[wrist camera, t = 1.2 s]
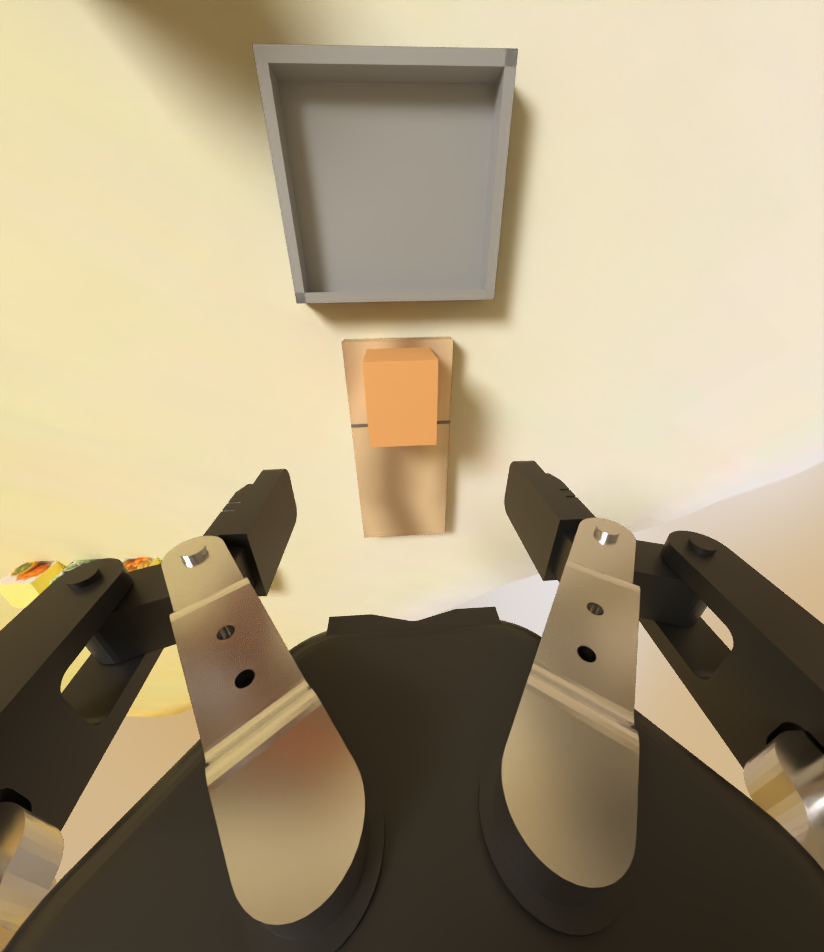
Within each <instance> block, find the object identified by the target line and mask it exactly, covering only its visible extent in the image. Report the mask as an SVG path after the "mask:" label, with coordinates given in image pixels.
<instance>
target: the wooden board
mask: <svg viewBox="0 0 824 952" xmlns="http://www.w3.org/2000/svg"><path fill="white" fill-rule="evenodd" d="M420 347H429V348H430V349H431V351H432V352H433V353H434V355H435V356H436V357H437V359H438V398H437V440H436V445H417V446H394V447H370V443H369V432H368V421H367V410H366V398H365V387H364V376H363V365H362V362H363V359H364V356H365V353H366V350H367V349H384V348H420ZM342 350H343V358H344V367H345V375H346V384H347V393H348V401H349V410H350V418H351V428H352V436H353V444H354V453H355V461H356V470H357V479H358V487H359V496H360V504H361V513H362V522H363V530H364V538H365V537H383V536H400V535H418V534H436V533H445V514H446V491H447V468H448V445H449V424H450V400H451V377H452V354H453V339H452V338H451V337H418V338H379V339H344V340H343V341H342Z"/></svg>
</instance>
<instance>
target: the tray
mask: <svg viewBox="0 0 824 952" xmlns="http://www.w3.org/2000/svg"><path fill="white" fill-rule="evenodd" d="M252 45H253V51H254V57H255V63H256V69H257V75H258V80H259V86H260V92H261V98H262V104H263V110H264V115H265V121H266V127H267V133H268V139H269V145H270V150H271V156H272V162H273V168H274V174H275V180H276V185H277V191H278V197H279V203H280V209H281V215H282V220H283V226H284V232H285V238H286V244H287V250H288V255H289V261H290V267H291V273H292V279H293V285H294V290H295V296H296V302H297V303H340V302H389V301H439V300H488V299H494V292H495V282H496V271H497V261H498V251H499V240H500V230H501V220H502V209H503V199H504V188H505V178H506V168H507V157H508V147H509V137H510V126H511V116H512V106H513V95H514V85H515V75H516V64H517V54H518V49H510V48H456V47H401V46H346V45H291V44H252Z"/></svg>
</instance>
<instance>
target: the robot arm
mask: <svg viewBox="0 0 824 952" xmlns="http://www.w3.org/2000/svg"><path fill="white" fill-rule="evenodd" d="M504 503H505V510H506V513H507V516H508V517H509V519H510V521H511V523H512V525H513V526H514V528H515V530H516V532H517V534H518V536H519V537H520V539H521V541H522V543H523V545H524V547H525V548H526V550H527V552H528V554H529V556H530V558H531V559H532V561H533V563H534V565H535V567H536V569H537V570H538V572H539V574H540V576H541V577H542V580H543V581H548V580H558V581H559V586H558V589H557V593H556V596H555V599H554V602H553V605H552V608H551V611H550V614H549V617H548V620H547V623H546V626H545V629H544V632H543V635H542V637H540V636H539V635H537V634H536V633H534V632H532V631H530V630H528V629H526V628H524V627H521V626H519V625H516V624H513V623H509V622H506V621H501V620H499V617H498V614H497V611H496V608H495V607H484V608H467V609H455V610H451V611H448V612H445V613H441V614H438V615H435V616H432V617H428V618H425V619H422V620H419V621H407V620H401V619H395V618H389V617H383V616H377V615H355V616H339V617H329V623H328V629H327V631H326V632H323V633H320V634H318V635H315V636H313V637H311V638H309V639H307V640H305V641H303V642H301V643H300V644H298V645H297V646H295V647H294V648H292V649H291V650H290V651H289V650H288V649H287V647H286V645H285V643H284V642H283V640H282V638H281V636H280V634H279V633H278V631H277V629H276V627H275V626H274V624H273V622H272V620H271V619H270V617H269V615H268V613H267V611H266V610H265V608H264V606H263V604H262V603H261V601H260V599H259V597H258V596H267V594H268V591H269V589H270V586H271V584H272V581H273V579H274V576H275V574H276V571H277V568H278V566H279V563H280V561H281V558H282V556H283V553H284V551H285V548H286V546H287V543H288V541H289V538H290V536H291V533H292V530H293V528H294V525H295V523H296V517H297V509H296V503H295V499H294V494H293V490H292V485H291V480H290V476H289V473H288V471H287V470H286V469H273V470H263V471H262V472H261V473H260V475H259V476H258V478H257V479H256V481H255V482H254V483H253V484H248V485H246V486H245V487H243V488H242V489H240V490H239V491H237V492H236V493H235V494H234V495H233V497H232V498H231V499H230V501H229V504H227V505H226V506H225V507H224V509H223V512H221V513H220V514H219V515H218V517H217V518H216V519H215V521H214V522H213V523H212V525H211V526H210V527H209V529H208V530H207V531H206V533H205V534H204V535H203V536H201V537H196V538H193V539H190V540H187V541H185V542H183V543H181V544H179V545H177V546H176V547H174V548H173V549H171V550H170V551H169V552H168V553H167V554H166V555H165V557H164V558H163V560H162V563H161V564H157V565H153V566H149V567H145V568H141V569H137V570H133V571H130V572H128V571H127V569H126V568H125V566H124V564H123V563H122V562H121V561H120V560H118V559H113V558H106V559H99V560H95V561H91V562H88V563H85V564H83V565H80V566H78V567H76V568H74V569H72V570H70V571H68V572H66V573H65V574H63V575H62V576H60V577H59V578H57V579H56V580H55V581H54V582H52V583H51V584H50V585H49V586H48V587H47V588H46V589H45V590H44V591H43V592H42V593H41V594H40V595H38V596H37V597H36V598H35V599H34V600H33V601H32V602H31V603H30V604H29V605H28V606H27V607H26V608H25V609H23V610H22V611H21V612H20V613H19V614H18V615H17V616H16V617H15V618H14V619H13V620H12V621H11V622H9V623H8V624H7V625H6V626H5V627H4V628H3V629H2V630H1V631H0V952H824V624H822V623H821V622H820V621H819V620H817V619H816V618H815V617H813V616H812V615H811V614H810V613H809V612H807V611H806V610H805V609H804V608H802V607H801V606H800V605H799V604H797V603H796V602H795V601H794V600H792V599H791V598H790V597H788V596H787V595H786V594H785V593H784V592H782V591H781V590H780V589H779V588H777V587H776V586H775V585H774V584H772V583H771V582H770V581H769V580H767V579H766V578H765V577H763V576H762V575H761V574H760V573H759V572H757V571H756V570H755V569H754V568H752V567H751V566H750V565H749V564H747V563H746V562H745V561H744V560H742V559H741V558H740V557H738V556H737V555H736V554H735V553H734V552H732V551H731V550H730V549H729V548H727V547H726V546H724V545H723V544H721V543H720V542H718V541H716V540H714V539H712V538H710V537H707V536H705V535H702V534H698V533H695V532H690V531H675V532H672V533H671V534H669V536H668V538H667V540H666V542H665V544H664V545H663V544H657V543H650V542H645V541H638V540H636V539H635V537H634V535H633V534H632V533H631V532H630V531H629V530H628V529H627V528H625V527H624V526H622V525H620V524H618V523H616V522H614V521H611V520H607V519H602V518H596V517H595V516H594V515H593V514H592V513H591V512H590V511H589V510H588V509H587V508H586V507H585V505H584V504H583V503H582V502H581V501H580V500H579V499H578V498H577V497H575V495H574V494H573V493H572V492H571V490H569V488H568V487H567V486H566V485H565V484H564V483H563V482H562V481H561V480H560V479H558V478H556V477H554V476H552V475H551V474H549V473H545V472H544V471H543V470H542V469H541V468H540V467H539V466H538V464H537V463H536V462H535V461H513V462H512V463H511V465H510V468H509V474H508V480H507V487H506V493H505V500H504ZM707 606H708V607H709V608H710V609H711V610H712V611H713V612H714V613H715V614H716V615H717V617H718V618H719V619H720V620H721V621H722V622H723V623H724V624H725V625H726V626H727V627H728V629H729V630H730V632H731V634H732V637H733V642H734V646H733V649H732V651H731V650H729V648H728V647H727V646H726V645H725V644H724V643H723V641H722V640H721V639H720V638H719V637H718V636H717V635H716V634H715V633H714V631H712V629H711V628H710V627H709V626H708V625H707V624H706V623H705V621H704V620H703V619H702V618H701V617H700V616H701V615H702V613H703V612H704V610H705V609H706V607H707ZM639 621H640V622H641V624H642V625H643V627H644V628H645V630H646V631H647V632H648V634H649V635H650V637H651V638H652V639H653V641H654V642H655V644H656V645H657V647H658V648H659V649H660V651H661V652H662V654H663V655H664V657H665V658H666V659H667V661H668V662H669V664H670V665H671V666H672V668H673V669H674V670H675V672H676V674H677V675H678V676H679V678H680V679H681V681H682V682H683V684H684V685H685V686H686V688H687V689H688V691H689V692H690V693H691V695H692V696H693V698H694V699H695V701H696V702H697V703H698V705H699V706H700V708H701V709H702V711H703V712H704V713H705V715H706V716H707V718H708V719H709V720H710V722H711V723H712V725H713V726H714V728H715V729H716V730H717V731H718V733H719V735H720V736H721V738H722V739H723V740H724V742H725V743H726V745H727V746H728V747H729V749H730V750H731V752H732V753H733V755H734V756H735V757H736V759H737V760H738V762H739V763H740V764H741V766H742V767H743V769H744V780H745V784H746V787H747V789H748V792H749V794H750V796H751V798H752V800H753V801H752V800H751V799H750V798H748V797H747V796H746V795H744V794H743V793H742V792H741V791H739V790H738V789H737V788H735V787H734V786H733V785H731V784H730V783H729V782H728V781H726V780H725V779H724V778H723V777H721V776H720V775H719V774H717V773H716V772H715V771H713V770H712V769H711V768H710V767H708V766H707V765H706V764H704V763H703V762H702V761H701V760H699V759H698V758H697V757H696V756H694V755H693V754H692V753H691V752H689V751H688V750H687V749H685V748H684V747H683V746H681V745H680V744H679V743H678V742H676V741H675V740H674V739H672V738H671V737H670V736H669V735H667V734H666V733H665V732H664V731H662V730H661V729H660V728H658V727H657V726H656V725H655V724H653V723H652V722H651V721H649V720H648V719H647V718H646V717H644V716H643V715H642V714H640V713H639V712H638V711H637V710H635V709H634V704H635V683H636V664H637V645H638V625H639ZM174 644H176V645H177V648H178V652H179V656H180V660H181V664H182V668H183V672H184V676H185V680H186V684H187V688H188V692H189V696H190V699H191V703H192V707H193V711H194V715H195V719H196V722H197V727H198V731H199V734H200V739H199V741H198V742H197V743H196V744H195V745H194V746H193V747H192V748H191V749H190V750H189V751H188V752H187V753H186V754H185V755H184V756H183V757H182V758H181V759H180V760H179V761H178V762H177V763H176V764H175V765H174V766H173V767H172V768H171V769H170V770H169V771H168V772H167V773H166V774H165V775H164V776H163V777H162V778H161V779H160V780H159V781H158V782H157V783H156V784H155V785H154V786H153V787H152V788H151V789H150V790H149V791H148V792H147V793H146V794H145V795H144V796H143V797H142V798H141V799H140V800H139V801H138V802H137V803H136V804H135V805H134V806H133V807H132V808H131V809H130V810H129V811H128V812H127V813H126V814H125V815H124V816H123V817H122V818H121V819H120V820H119V821H118V822H117V823H116V824H115V825H114V826H113V827H112V828H111V829H110V830H109V831H108V832H107V833H106V834H105V835H104V836H103V837H102V838H101V839H100V840H99V841H98V842H97V843H96V844H95V845H94V846H93V848H92V849H90V850H89V851H88V853H86V855H85V856H84V857H82V858H81V860H80V861H79V862H78V863H77V864H76V865H75V866H74V867H73V868H72V869H71V870H70V871H69V872H68V873H67V874H66V875H65V876H64V877H63V878H62V879H61V880H60V881H59V882H58V883H57V884H56V880H55V875H56V873H57V871H58V868H59V866H60V863H61V859H62V856H63V850H64V839H63V836H62V833H61V830H62V828H63V826H64V825H65V823H66V821H67V819H68V817H69V816H70V814H71V812H72V810H73V809H74V807H75V805H76V803H77V801H78V800H79V797H80V796H81V794H82V792H83V791H84V789H85V787H86V785H87V784H88V782H89V780H90V778H91V777H92V775H93V773H94V771H95V769H96V768H97V766H98V764H99V762H100V761H101V759H102V757H103V755H104V753H105V752H106V750H107V748H108V746H109V744H110V743H111V741H112V739H113V737H114V735H115V734H116V732H117V730H118V729H119V727H120V725H121V723H122V721H123V720H124V718H125V716H126V714H127V713H128V711H129V709H130V707H131V705H132V704H133V702H134V700H135V698H136V697H137V695H138V693H139V691H140V689H141V688H142V686H143V684H144V682H145V681H146V679H147V677H148V675H149V673H150V672H151V670H152V668H153V666H154V665H155V663H156V661H157V659H158V657H159V656H160V654H161V652H162V650H163V649H164V648H165V647H168V646H171V645H174ZM85 646H86V647H87V649H88V650H89V651H90V652H91V653H92V654H91V655H90V656H89V658H88V659H87V660H86V662H85V663H84V664H83V666H82V667H81V668H80V670H79V671H78V672H77V673H76V675H75V676H74V677H73V679H72V680H71V681H70V683H69V684H68V685H67V687H66V688H65V689H64V691H63V692H62V693H61V691H60V686H61V681H62V678H63V676H64V674H65V672H66V670H67V669H68V667H69V666H70V665H71V664H72V662H73V661H74V660H75V659H76V657H77V656H78V655H79V653H80V652H81V651H82V650H83V648H84V647H85Z"/></svg>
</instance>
